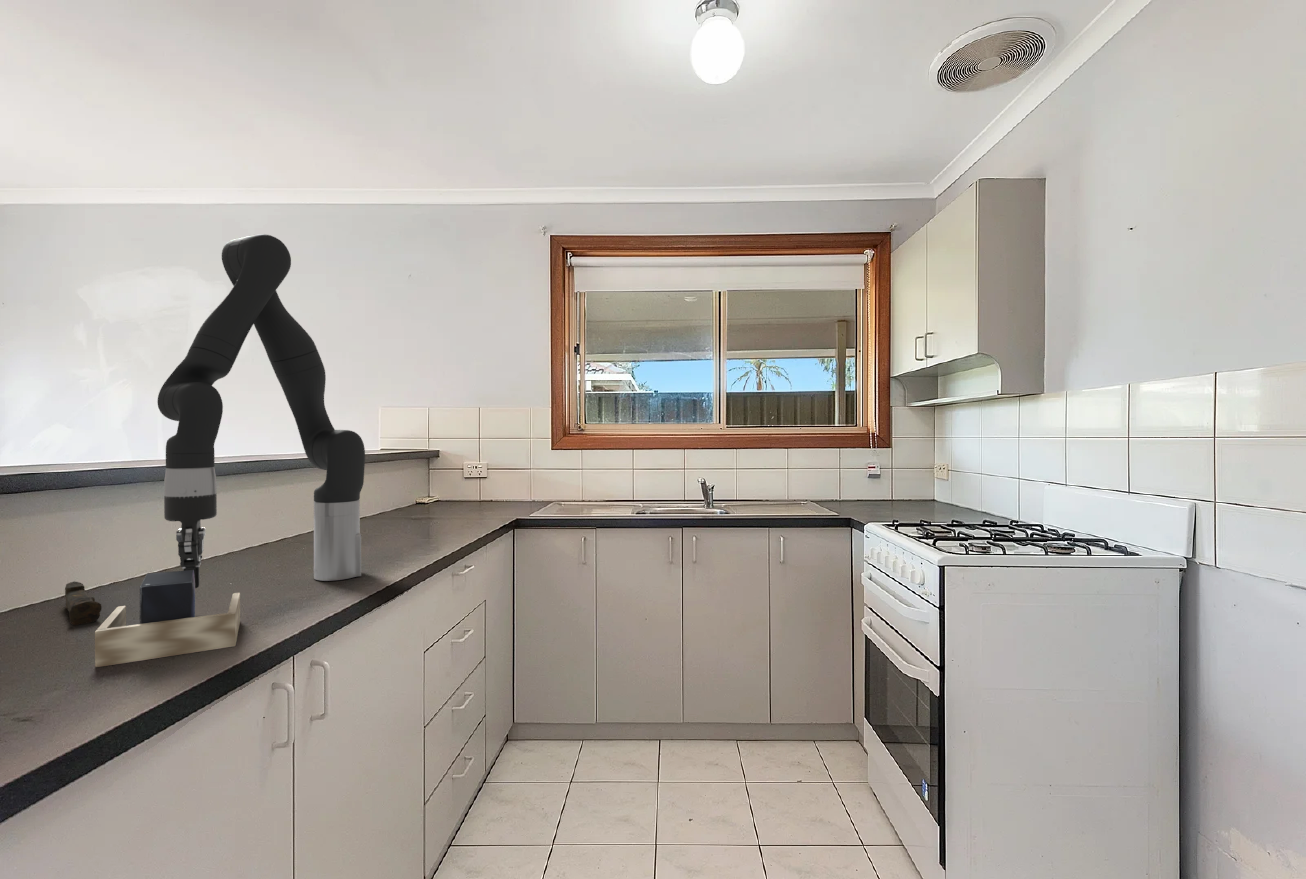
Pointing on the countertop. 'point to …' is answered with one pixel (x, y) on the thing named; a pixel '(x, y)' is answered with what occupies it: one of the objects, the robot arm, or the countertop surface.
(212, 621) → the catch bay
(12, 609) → the countertop surface
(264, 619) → the countertop surface
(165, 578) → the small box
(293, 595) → the countertop surface
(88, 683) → the countertop surface
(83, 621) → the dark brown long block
